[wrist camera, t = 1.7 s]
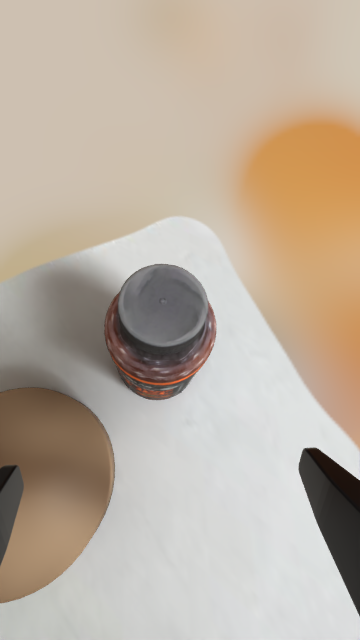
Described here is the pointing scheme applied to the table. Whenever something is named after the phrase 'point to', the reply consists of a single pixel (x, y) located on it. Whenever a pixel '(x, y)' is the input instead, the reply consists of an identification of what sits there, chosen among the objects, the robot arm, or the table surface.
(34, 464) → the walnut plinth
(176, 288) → the supplement bottle
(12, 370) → the table surface
